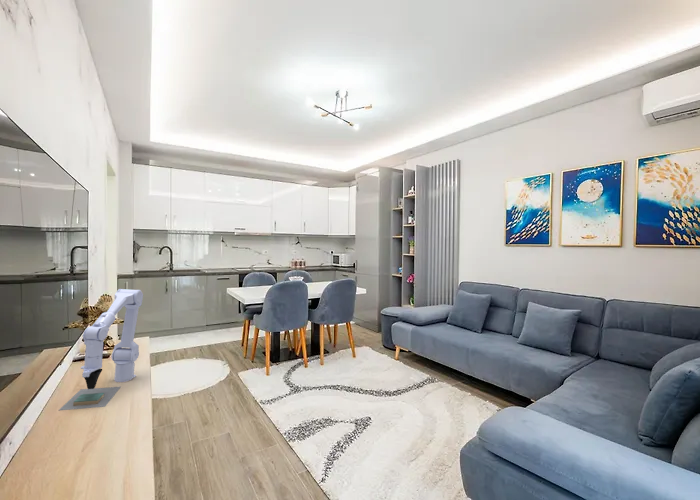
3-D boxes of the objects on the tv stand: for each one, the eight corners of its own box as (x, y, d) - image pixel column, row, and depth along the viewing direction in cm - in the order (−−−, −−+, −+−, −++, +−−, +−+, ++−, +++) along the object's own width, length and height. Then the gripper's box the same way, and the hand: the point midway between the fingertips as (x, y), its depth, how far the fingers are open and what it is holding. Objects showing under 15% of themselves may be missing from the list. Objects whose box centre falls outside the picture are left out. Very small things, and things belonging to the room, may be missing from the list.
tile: (81, 394, 136) (73, 401, 129) (104, 392, 138) (97, 399, 132) (80, 398, 136) (73, 405, 129) (103, 396, 138) (97, 403, 132)
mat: (80, 390, 144) (80, 389, 144) (120, 387, 149) (121, 386, 149) (58, 412, 125) (58, 410, 125) (104, 408, 130) (105, 406, 130)
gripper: (89, 350, 141) (86, 382, 141) (74, 361, 127) (71, 396, 127) (108, 350, 143) (106, 381, 143) (95, 360, 130) (93, 395, 129)
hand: (91, 388), depth 135 cm, fingers closed
